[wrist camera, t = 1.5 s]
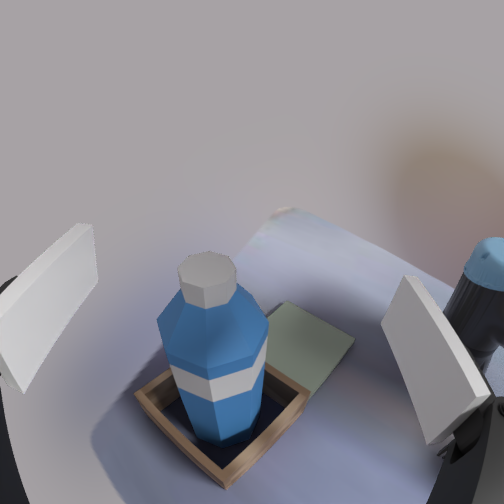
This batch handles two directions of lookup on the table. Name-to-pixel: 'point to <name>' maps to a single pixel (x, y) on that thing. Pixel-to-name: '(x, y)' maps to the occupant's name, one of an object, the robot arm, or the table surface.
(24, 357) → the robot arm
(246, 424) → the water bottle
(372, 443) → the table surface
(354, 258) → the table surface
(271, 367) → the wooden frame
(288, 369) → the mat
